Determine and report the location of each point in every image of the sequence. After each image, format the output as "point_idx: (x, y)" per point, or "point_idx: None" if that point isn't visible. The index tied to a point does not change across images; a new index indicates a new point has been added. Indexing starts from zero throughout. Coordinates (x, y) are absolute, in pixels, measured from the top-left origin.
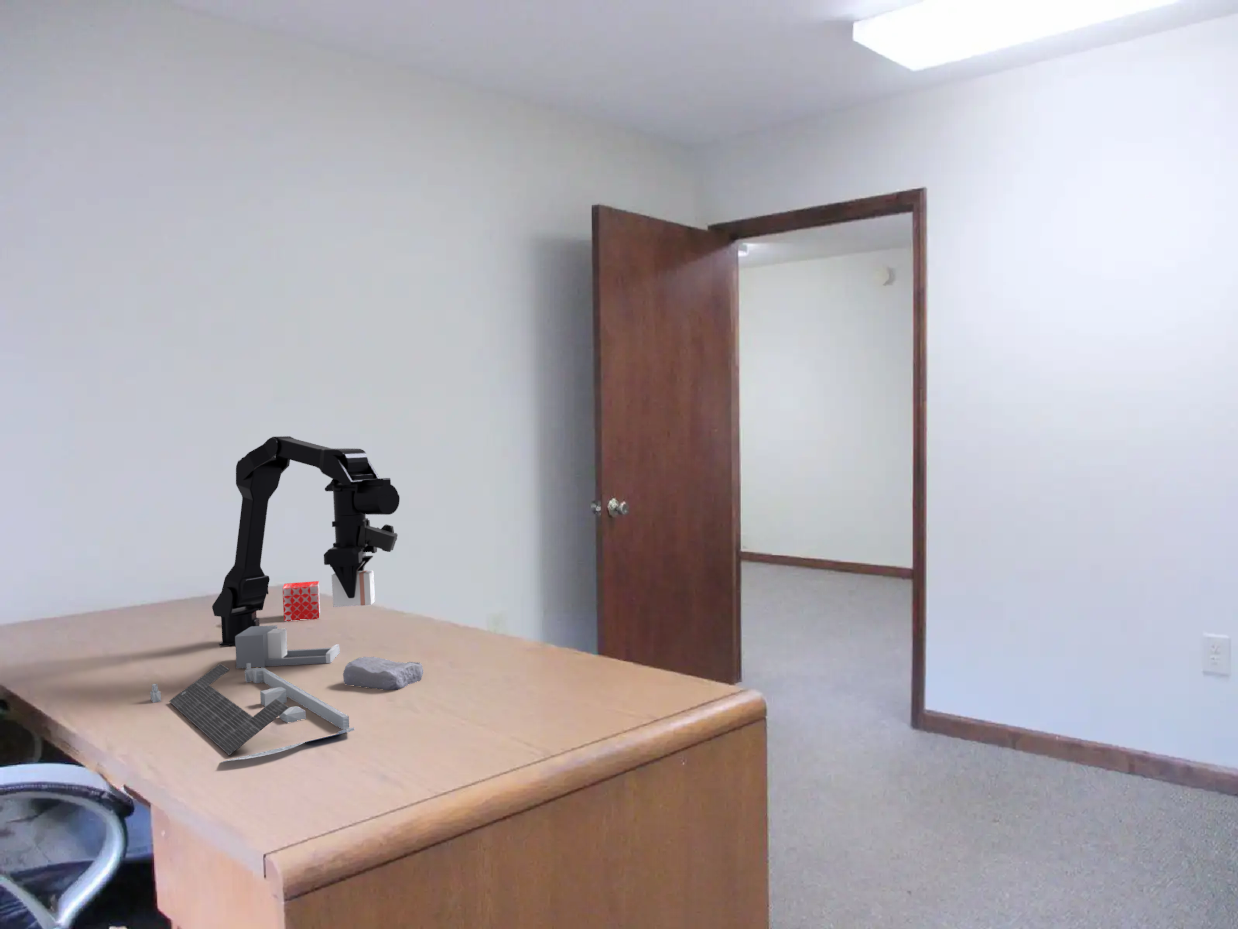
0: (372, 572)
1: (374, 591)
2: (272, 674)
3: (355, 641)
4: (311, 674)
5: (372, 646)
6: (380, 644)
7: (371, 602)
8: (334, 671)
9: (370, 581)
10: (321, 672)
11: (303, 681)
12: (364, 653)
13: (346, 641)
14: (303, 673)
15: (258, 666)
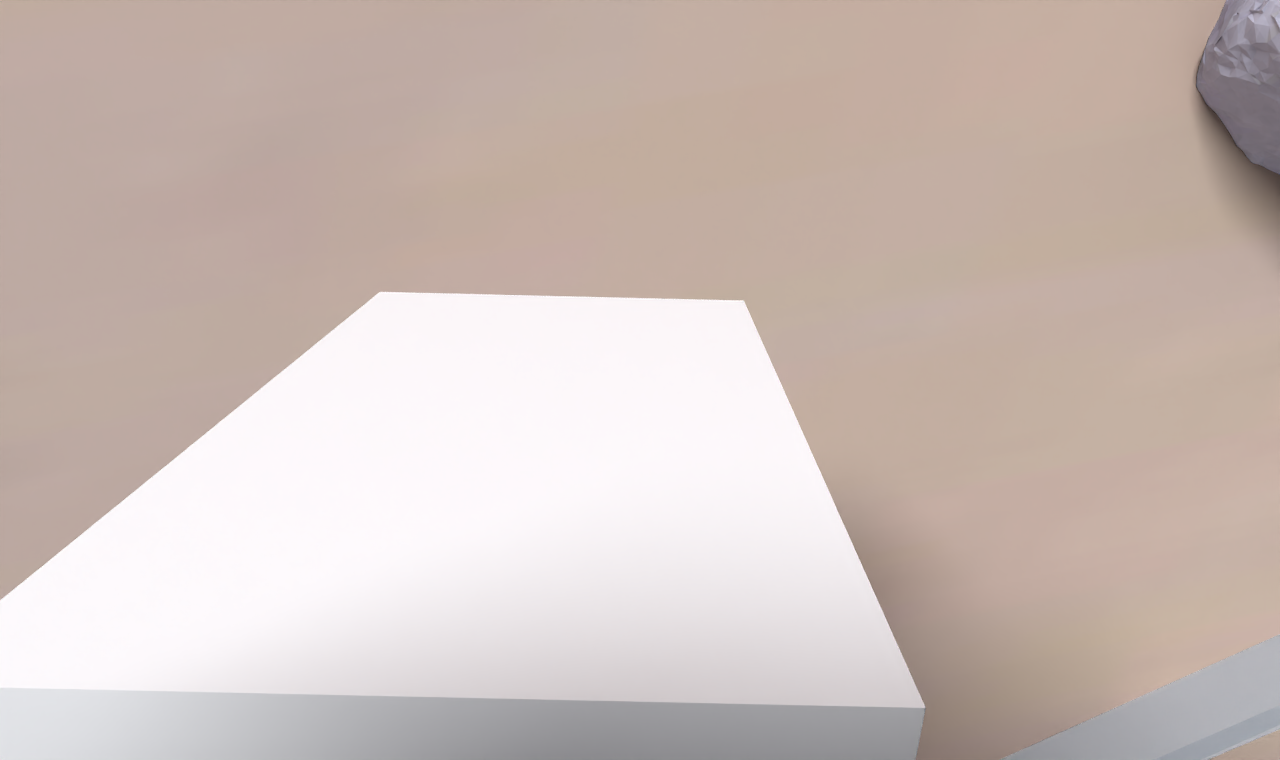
0: (201, 645)
1: (314, 348)
2: (1251, 727)
3: (41, 437)
4: (1018, 533)
5: (229, 271)
6: (157, 215)
7: (698, 308)
8: (995, 406)
9: (725, 494)
10: (989, 484)
11: (1186, 541)
12: (476, 293)
13: (41, 502)
14: (970, 584)
15: None
